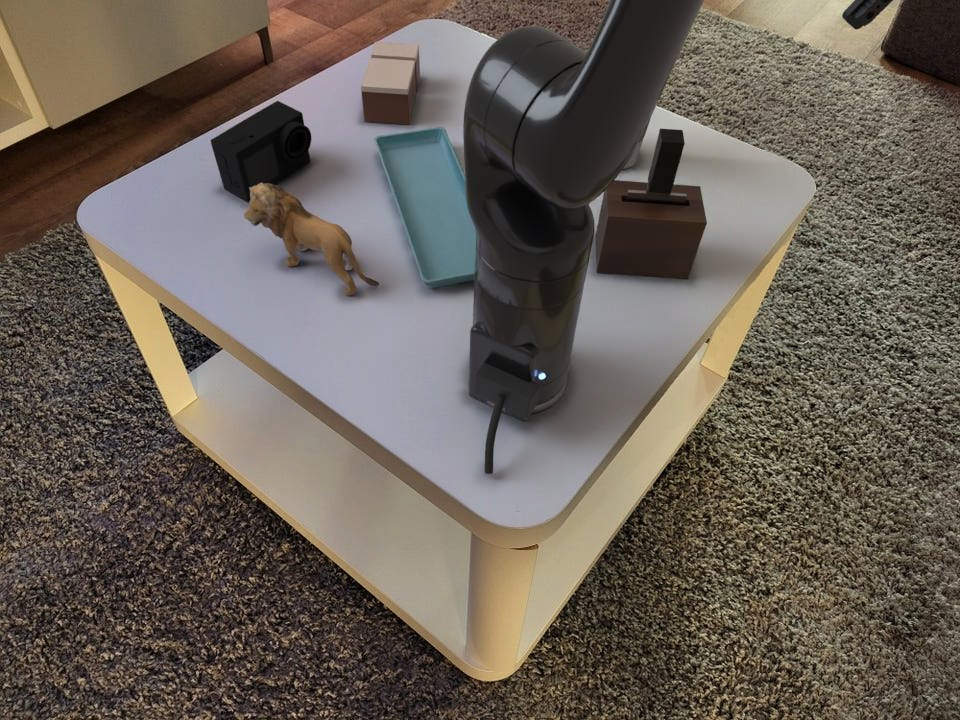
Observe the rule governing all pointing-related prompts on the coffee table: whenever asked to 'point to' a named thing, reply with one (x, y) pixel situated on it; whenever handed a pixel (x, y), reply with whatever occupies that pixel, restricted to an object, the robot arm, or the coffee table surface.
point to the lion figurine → (303, 231)
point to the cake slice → (398, 54)
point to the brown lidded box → (389, 91)
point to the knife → (662, 171)
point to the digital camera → (262, 149)
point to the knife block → (648, 233)
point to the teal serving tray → (431, 203)
